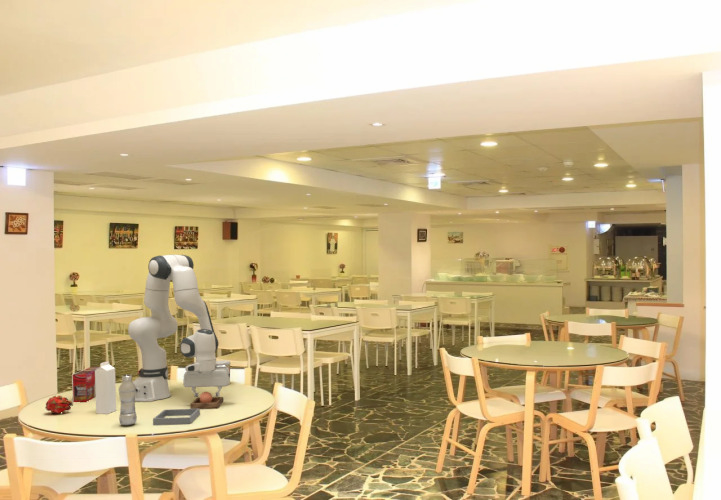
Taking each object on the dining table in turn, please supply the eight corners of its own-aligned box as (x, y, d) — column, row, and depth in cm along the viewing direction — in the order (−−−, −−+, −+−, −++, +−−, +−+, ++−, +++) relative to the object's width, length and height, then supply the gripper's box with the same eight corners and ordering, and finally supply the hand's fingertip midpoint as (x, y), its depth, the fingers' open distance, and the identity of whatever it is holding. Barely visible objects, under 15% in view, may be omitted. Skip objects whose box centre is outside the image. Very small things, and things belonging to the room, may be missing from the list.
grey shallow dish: (153, 425, 253) (152, 418, 253) (164, 415, 268) (164, 409, 268) (190, 423, 253) (190, 417, 253) (199, 414, 268) (199, 408, 268)
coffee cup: (229, 386, 324) (228, 363, 324) (210, 387, 324) (210, 363, 324) (232, 382, 333) (232, 360, 334) (215, 383, 334) (214, 360, 334)
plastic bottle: (122, 423, 258) (120, 374, 258) (139, 422, 258) (137, 373, 258) (117, 427, 251) (115, 377, 251) (134, 426, 252) (133, 376, 252)
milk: (96, 413, 275) (94, 363, 276) (104, 410, 281) (102, 360, 281) (108, 414, 274) (106, 363, 274) (116, 410, 280) (114, 360, 280)
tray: (190, 409, 278) (190, 403, 278) (197, 402, 290) (197, 397, 290) (217, 408, 278) (217, 403, 278) (223, 402, 290) (223, 396, 290)
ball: (199, 406, 281) (197, 394, 281) (202, 403, 287) (200, 391, 287) (211, 404, 281) (209, 392, 281) (214, 401, 287) (212, 389, 287)
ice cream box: (90, 393, 318) (89, 367, 319) (103, 393, 319) (102, 366, 319) (72, 402, 298) (72, 374, 299) (86, 402, 299) (85, 374, 299)
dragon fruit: (45, 416, 279) (71, 420, 279) (37, 409, 273) (64, 412, 272) (53, 398, 284) (78, 402, 284) (46, 390, 278) (72, 394, 277)
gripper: (230, 363, 287) (231, 394, 287) (185, 365, 287) (186, 395, 287) (227, 366, 281) (228, 397, 281) (181, 367, 281) (182, 398, 281)
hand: (207, 396), depth 284 cm, fingers open, 8 cm apart
